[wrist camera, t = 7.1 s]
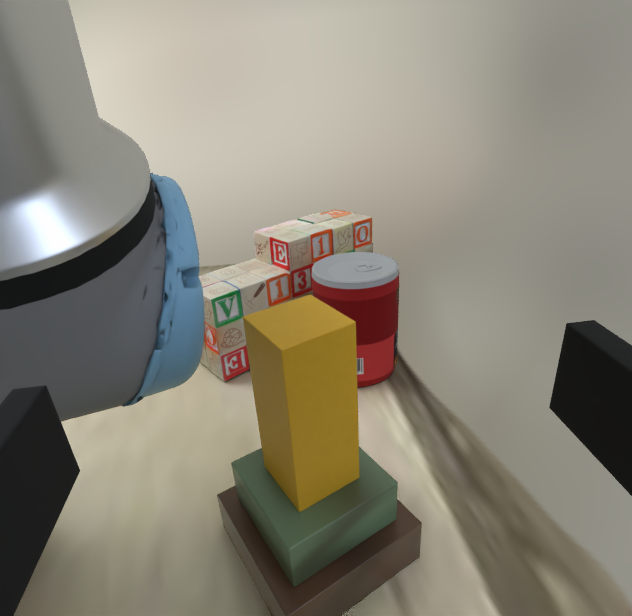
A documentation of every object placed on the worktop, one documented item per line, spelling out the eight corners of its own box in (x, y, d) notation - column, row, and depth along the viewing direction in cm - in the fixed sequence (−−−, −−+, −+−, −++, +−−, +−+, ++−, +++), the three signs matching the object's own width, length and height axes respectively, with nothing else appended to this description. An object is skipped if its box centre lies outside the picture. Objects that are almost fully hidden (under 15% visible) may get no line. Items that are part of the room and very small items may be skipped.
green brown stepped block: (291, 651, 23) (280, 578, 21) (223, 526, 30) (208, 459, 27) (419, 556, 27) (424, 485, 25) (334, 465, 34) (330, 402, 32)
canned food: (412, 373, 44) (416, 269, 39) (340, 399, 41) (336, 290, 36) (370, 339, 51) (369, 245, 46) (305, 360, 48) (297, 261, 43)
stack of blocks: (224, 384, 44) (203, 268, 39) (195, 360, 49) (172, 252, 43) (373, 312, 57) (373, 215, 51) (339, 297, 61) (335, 206, 55)
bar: (299, 513, 24) (281, 349, 19) (264, 466, 27) (241, 316, 22) (360, 477, 25) (356, 321, 21) (320, 437, 29) (310, 293, 24)
